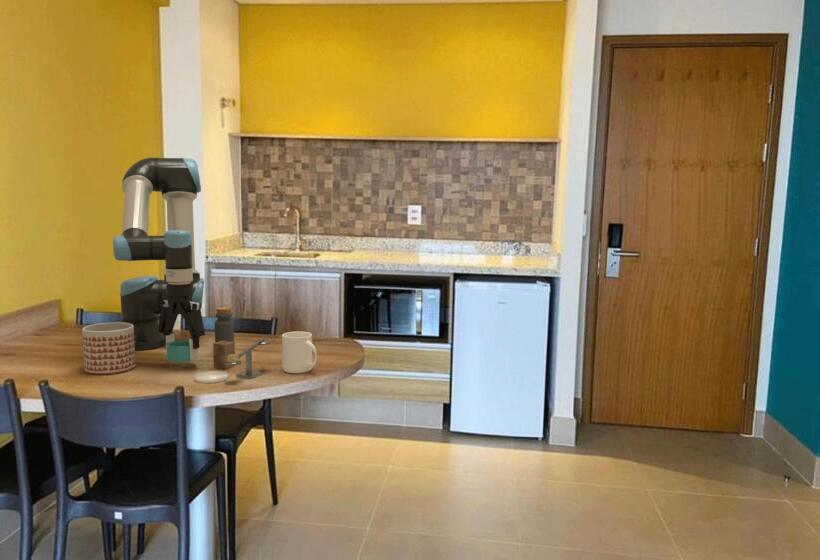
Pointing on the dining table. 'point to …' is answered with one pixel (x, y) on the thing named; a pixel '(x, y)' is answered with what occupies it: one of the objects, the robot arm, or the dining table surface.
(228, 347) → the block
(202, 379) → the dish
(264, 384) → the dining table surface
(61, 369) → the dining table surface
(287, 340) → the mug
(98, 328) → the planter
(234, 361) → the balance
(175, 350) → the collar
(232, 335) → the bottle
